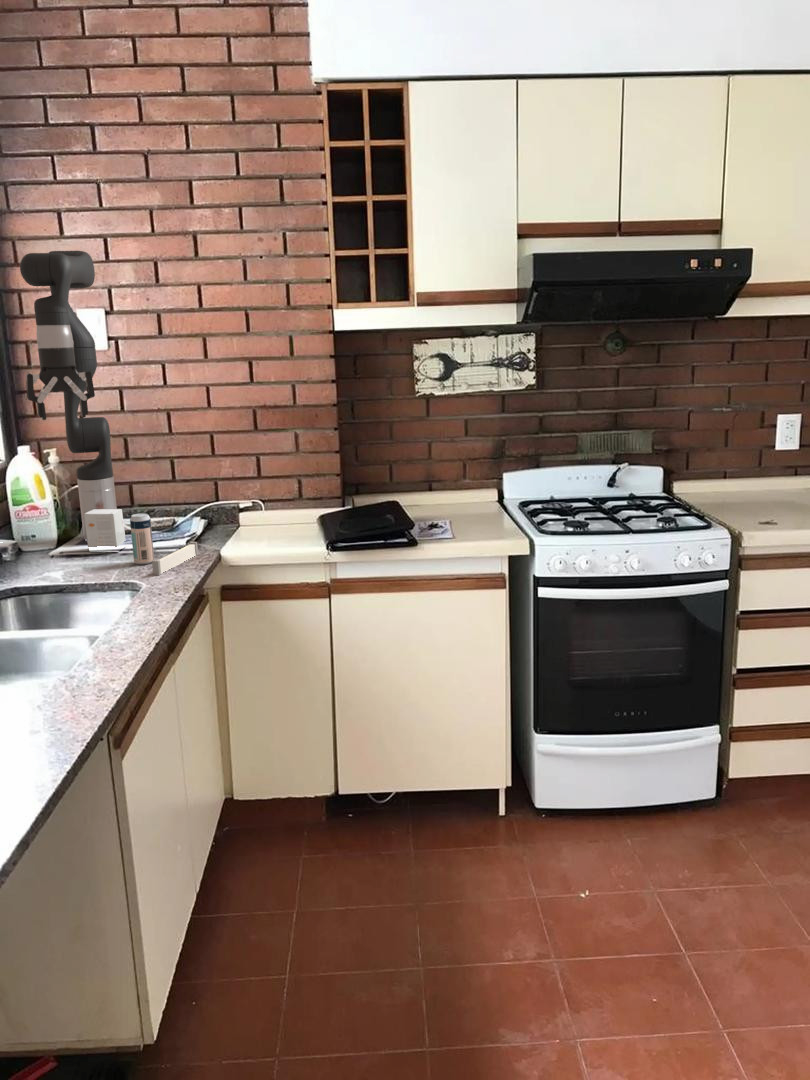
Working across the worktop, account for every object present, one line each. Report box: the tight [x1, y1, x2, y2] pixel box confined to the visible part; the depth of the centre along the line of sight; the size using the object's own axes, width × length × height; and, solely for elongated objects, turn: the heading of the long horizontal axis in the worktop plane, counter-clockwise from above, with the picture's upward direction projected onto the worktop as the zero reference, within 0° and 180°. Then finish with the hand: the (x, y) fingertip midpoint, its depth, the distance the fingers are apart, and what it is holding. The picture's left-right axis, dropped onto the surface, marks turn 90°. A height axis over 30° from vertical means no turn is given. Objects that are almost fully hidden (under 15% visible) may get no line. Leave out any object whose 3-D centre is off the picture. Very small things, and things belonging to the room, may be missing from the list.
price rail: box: [151, 541, 199, 576], centre depth 206 cm, size 18×2×3 cm, turn 165°
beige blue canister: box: [129, 512, 155, 566], centre depth 207 cm, size 5×5×12 cm
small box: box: [84, 508, 127, 548], centre depth 220 cm, size 8×6×10 cm
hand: (63, 418), depth 195 cm, fingers open, 8 cm apart
